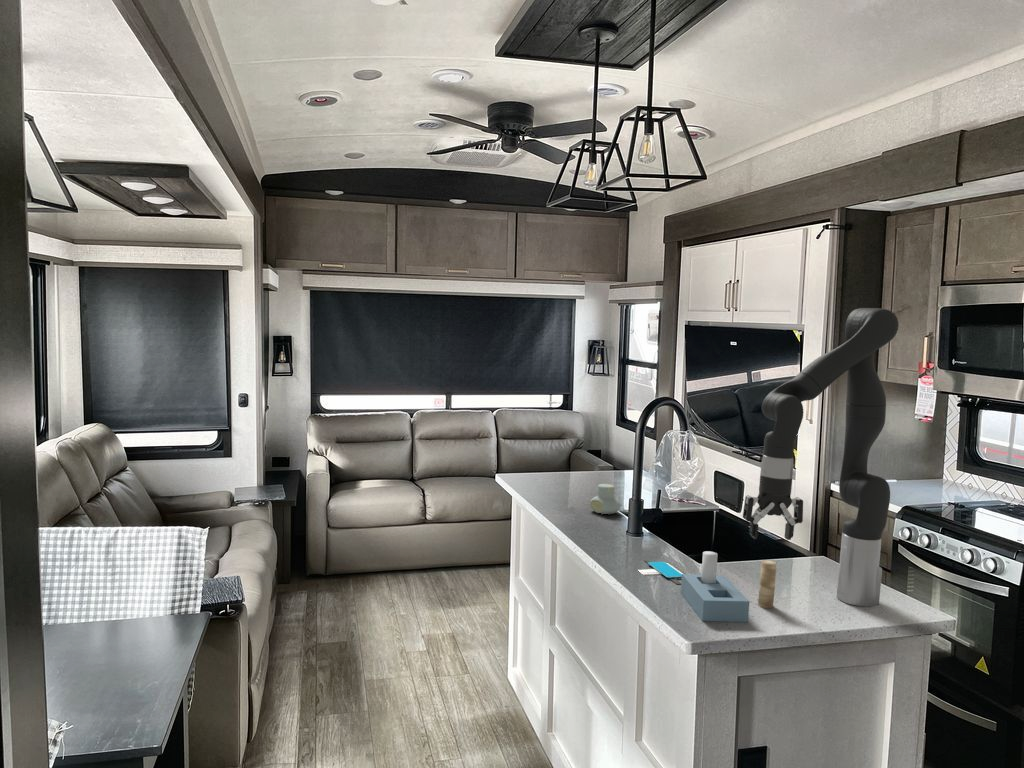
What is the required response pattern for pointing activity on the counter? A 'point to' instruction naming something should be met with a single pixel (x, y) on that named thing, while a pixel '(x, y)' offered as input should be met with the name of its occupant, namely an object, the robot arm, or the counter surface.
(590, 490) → the counter surface
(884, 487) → the robot arm
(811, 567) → the counter surface
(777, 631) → the counter surface
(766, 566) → the beech pin
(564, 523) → the counter surface
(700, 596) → the bore block
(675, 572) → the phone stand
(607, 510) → the pale green pipe fitting
